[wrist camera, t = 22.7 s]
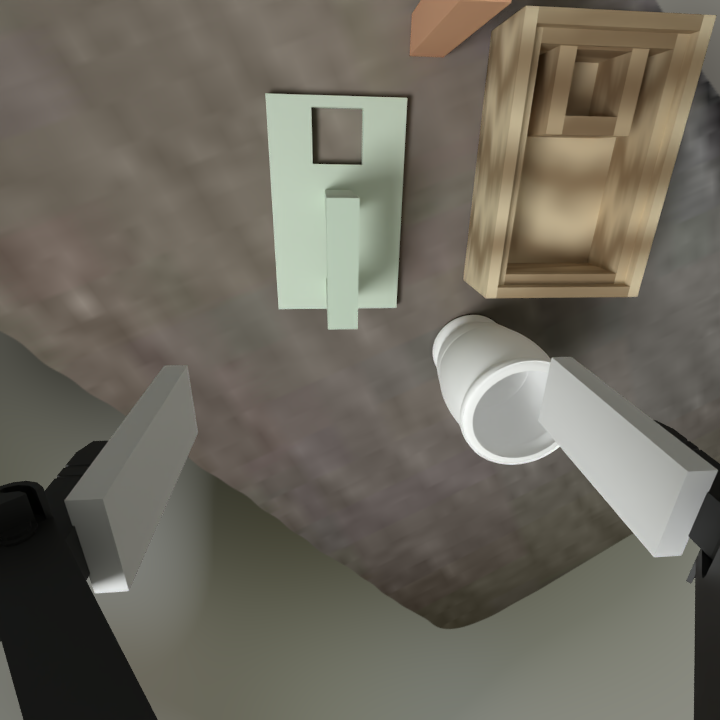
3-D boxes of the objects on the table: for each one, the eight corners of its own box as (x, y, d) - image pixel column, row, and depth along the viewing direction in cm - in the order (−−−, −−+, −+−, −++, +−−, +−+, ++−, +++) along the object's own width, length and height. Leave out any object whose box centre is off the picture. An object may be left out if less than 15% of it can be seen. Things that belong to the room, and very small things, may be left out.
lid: (266, 95, 39) (250, 74, 30) (405, 99, 40) (432, 80, 31) (279, 306, 47) (269, 343, 38) (394, 304, 48) (413, 340, 39)
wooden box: (491, 31, 39) (526, 5, 32) (652, 38, 40) (716, 15, 34) (463, 279, 48) (485, 298, 41) (595, 279, 49) (637, 296, 43)
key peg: (412, 13, 38) (466, -69, 24) (446, 15, 38) (519, -66, 24) (409, 56, 39) (460, -1, 25) (443, 57, 39) (511, 2, 25)
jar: (527, 317, 50) (605, 375, 36) (492, 395, 54) (551, 474, 40) (440, 294, 48) (489, 347, 34) (410, 377, 52) (444, 454, 38)
